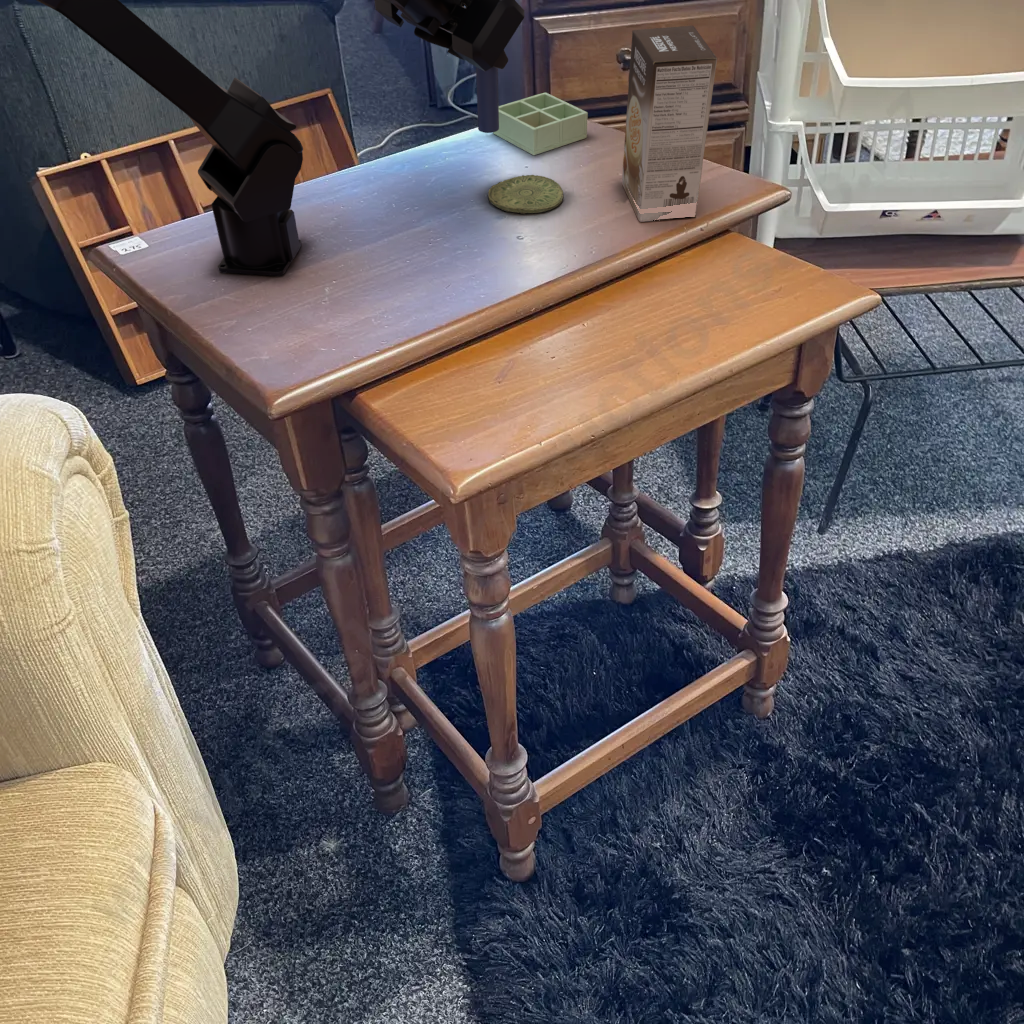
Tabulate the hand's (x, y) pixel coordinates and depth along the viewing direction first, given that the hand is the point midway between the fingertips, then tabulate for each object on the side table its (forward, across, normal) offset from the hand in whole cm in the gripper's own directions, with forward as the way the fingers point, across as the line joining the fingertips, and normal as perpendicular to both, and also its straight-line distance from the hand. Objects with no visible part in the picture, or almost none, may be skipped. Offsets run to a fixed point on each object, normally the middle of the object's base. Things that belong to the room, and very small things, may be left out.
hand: (498, 60), depth 99 cm
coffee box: (+17, -14, +2) cm, 22 cm away
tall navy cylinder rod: (+4, 0, +6) cm, 7 cm away
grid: (+17, +7, +1) cm, 18 cm away
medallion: (+9, -5, +9) cm, 14 cm away
